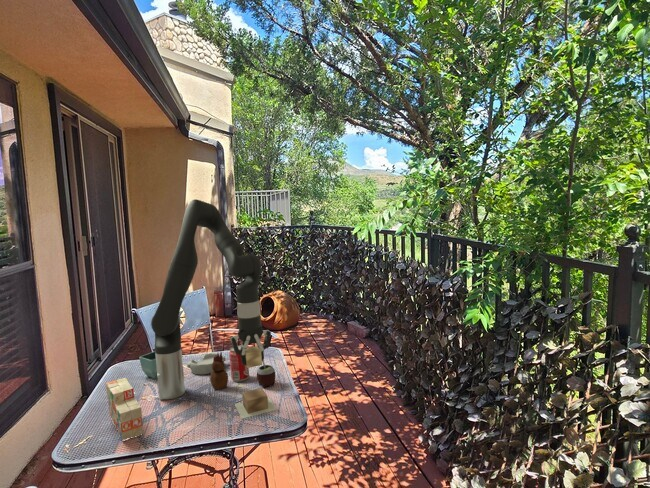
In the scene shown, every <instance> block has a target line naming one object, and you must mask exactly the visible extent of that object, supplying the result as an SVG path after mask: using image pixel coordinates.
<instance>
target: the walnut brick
mask: <svg viewBox="0 0 650 488" xmlns="http://www.w3.org/2000/svg"><path fill="white" fill-rule="evenodd" d="M241 395H242V397H241V398H242V402H243V406H244V408H245V409H246V411H247V413H248V414H249V413H253V412H257V411H261V410H265V409H268V397H269V396H268V395H267V393H266V392H265V390H264V388H263V387H259V388H255V389H252V390H251V389H250V390H246V391H242V394H241ZM267 396H268V397H267Z"/></svg>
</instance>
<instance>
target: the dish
mask: <svg viewBox="0 0 650 488" xmlns="http://www.w3.org/2000/svg"><path fill="white" fill-rule="evenodd" d="M217 353H218V354H219V357H220V353H219V352H217ZM217 353H216V352H211V353H205V354H204V355H203V357H202V359H201V360H199V361H196V360H195V359H193V358H192V359H191V360H190V361H189V362H187V363H186V367H187V368H188V369H190V371H191V372H192V373H193V374H195V375H209V374H211V373H212V371H213V369H212V363H213V359H214V357H215V355H217ZM222 361H223V362H224V363H225V361H226V357H225V355H222Z"/></svg>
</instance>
